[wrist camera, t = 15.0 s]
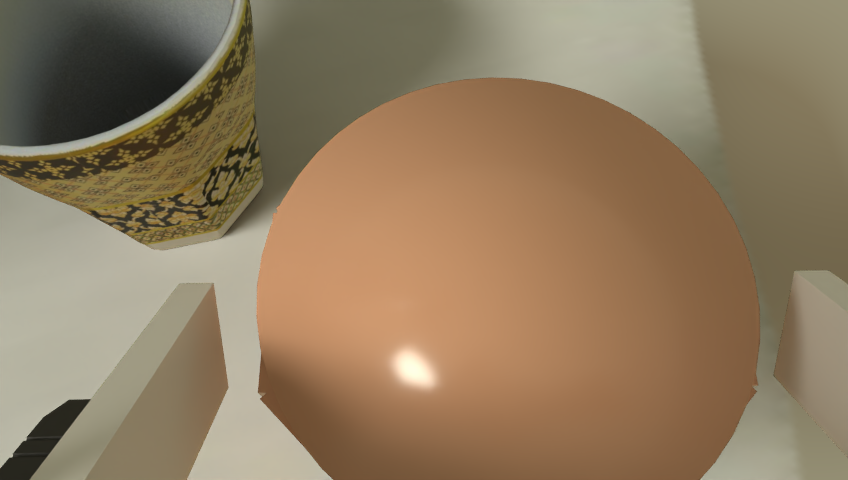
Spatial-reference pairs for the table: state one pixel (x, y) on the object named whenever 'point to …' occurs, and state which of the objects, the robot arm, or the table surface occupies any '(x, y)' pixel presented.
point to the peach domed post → (506, 295)
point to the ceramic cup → (133, 111)
